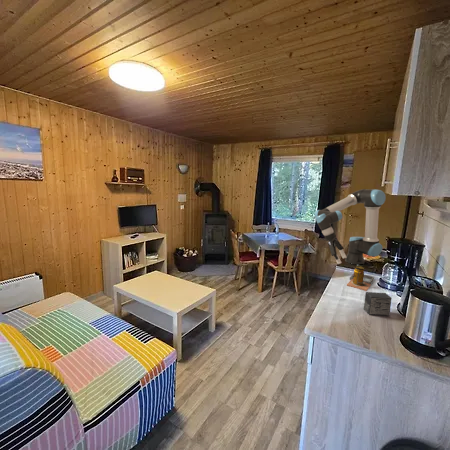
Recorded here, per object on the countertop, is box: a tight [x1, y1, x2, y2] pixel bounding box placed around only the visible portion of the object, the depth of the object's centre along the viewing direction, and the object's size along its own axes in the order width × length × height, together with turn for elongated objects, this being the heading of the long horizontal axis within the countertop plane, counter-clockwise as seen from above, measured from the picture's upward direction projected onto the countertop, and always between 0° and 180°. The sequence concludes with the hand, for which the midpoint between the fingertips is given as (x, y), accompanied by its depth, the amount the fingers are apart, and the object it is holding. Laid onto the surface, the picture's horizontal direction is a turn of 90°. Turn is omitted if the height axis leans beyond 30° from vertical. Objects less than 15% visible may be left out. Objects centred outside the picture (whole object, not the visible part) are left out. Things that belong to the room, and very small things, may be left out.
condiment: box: [349, 265, 367, 286], centre depth 161 cm, size 7×8×12 cm
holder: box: [349, 273, 375, 285], centre depth 172 cm, size 13×13×2 cm
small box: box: [363, 291, 393, 317], centre depth 127 cm, size 11×6×10 cm, turn 84°
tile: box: [346, 279, 372, 292], centre depth 162 cm, size 12×12×1 cm
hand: (342, 260), depth 172 cm, fingers open, 13 cm apart
